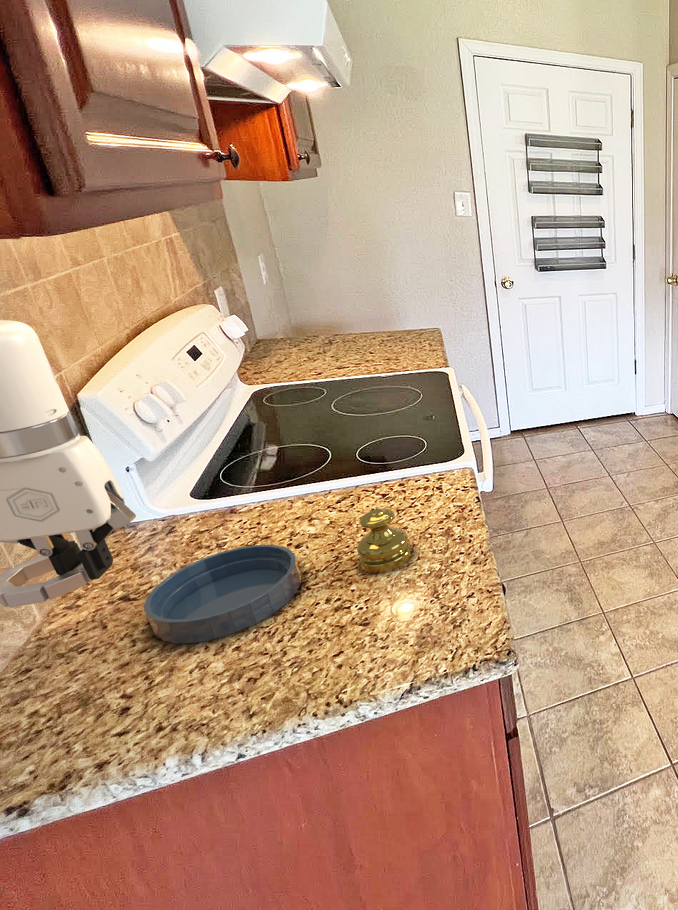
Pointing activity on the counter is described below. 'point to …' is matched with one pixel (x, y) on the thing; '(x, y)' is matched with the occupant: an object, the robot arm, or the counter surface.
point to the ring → (14, 594)
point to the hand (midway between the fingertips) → (88, 573)
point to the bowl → (222, 593)
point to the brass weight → (382, 543)
